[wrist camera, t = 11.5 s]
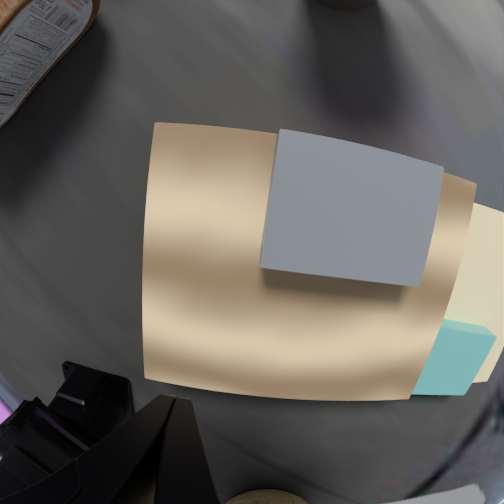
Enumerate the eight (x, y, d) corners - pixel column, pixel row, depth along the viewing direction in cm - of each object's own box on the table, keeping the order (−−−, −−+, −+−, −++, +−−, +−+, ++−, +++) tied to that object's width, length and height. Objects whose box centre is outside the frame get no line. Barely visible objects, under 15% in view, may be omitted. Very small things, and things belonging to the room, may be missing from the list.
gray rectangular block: (403, 274, 16) (419, 287, 14) (259, 255, 16) (260, 267, 14) (424, 166, 14) (444, 167, 12) (276, 133, 14) (280, 128, 12)
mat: (485, 379, 23) (487, 381, 23) (384, 387, 23) (386, 389, 22) (539, 226, 19) (541, 226, 18) (442, 193, 18) (444, 193, 18)
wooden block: (390, 368, 22) (408, 398, 18) (160, 346, 22) (144, 378, 18) (442, 178, 18) (476, 183, 14) (175, 130, 18) (155, 122, 14)
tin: (105, -9, 15) (51, -62, 7) (123, 9, 15) (68, -47, 7) (-15, 128, 17) (-87, 128, 9) (-4, 152, 18) (-79, 157, 10)
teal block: (454, 382, 22) (464, 394, 21) (388, 378, 22) (396, 393, 20) (484, 326, 21) (496, 336, 19) (419, 313, 21) (431, 325, 19)
